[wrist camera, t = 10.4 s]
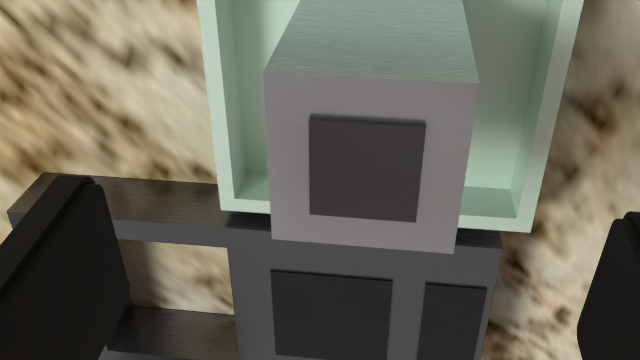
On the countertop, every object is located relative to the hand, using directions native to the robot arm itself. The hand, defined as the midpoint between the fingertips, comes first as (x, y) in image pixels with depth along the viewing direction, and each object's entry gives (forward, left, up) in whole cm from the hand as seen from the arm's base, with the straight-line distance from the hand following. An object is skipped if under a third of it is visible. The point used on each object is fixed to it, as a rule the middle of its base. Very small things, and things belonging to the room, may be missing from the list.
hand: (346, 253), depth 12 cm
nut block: (+1, 0, -12) cm, 12 cm away
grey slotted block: (+12, -5, -13) cm, 18 cm away
